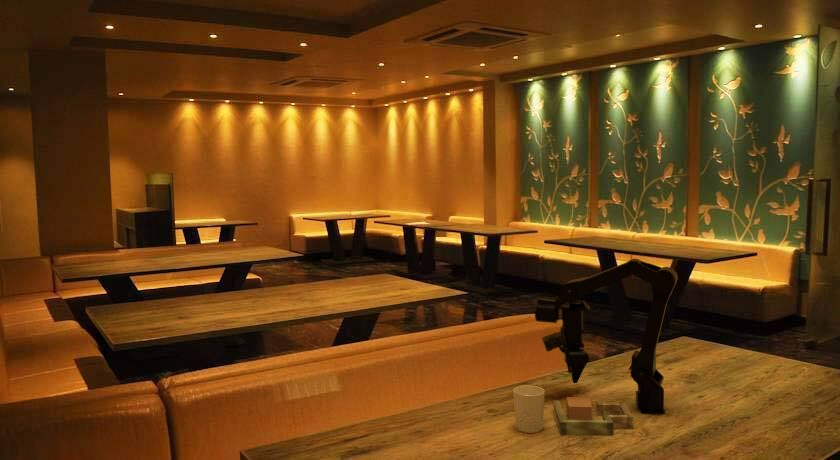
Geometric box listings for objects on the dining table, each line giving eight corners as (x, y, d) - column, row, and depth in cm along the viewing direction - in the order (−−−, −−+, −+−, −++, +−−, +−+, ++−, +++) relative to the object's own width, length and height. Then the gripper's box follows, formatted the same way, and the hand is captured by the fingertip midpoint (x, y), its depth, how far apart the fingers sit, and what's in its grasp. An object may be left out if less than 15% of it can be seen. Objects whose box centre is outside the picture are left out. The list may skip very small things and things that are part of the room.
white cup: (544, 435, 167) (544, 396, 166) (512, 433, 168) (512, 394, 167) (544, 423, 174) (544, 386, 173) (514, 421, 176) (514, 384, 175)
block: (589, 411, 182) (589, 397, 182) (591, 421, 175) (591, 407, 175) (566, 411, 183) (566, 397, 183) (568, 421, 176) (568, 406, 176)
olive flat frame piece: (623, 411, 181) (623, 400, 181) (636, 435, 165) (637, 422, 165) (553, 411, 183) (553, 399, 182) (560, 434, 167) (560, 421, 167)
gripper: (540, 317, 200) (541, 367, 201) (547, 332, 181) (547, 388, 183) (578, 317, 199) (578, 368, 200) (589, 332, 180) (588, 388, 182)
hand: (572, 377), depth 191 cm, fingers open, 9 cm apart
